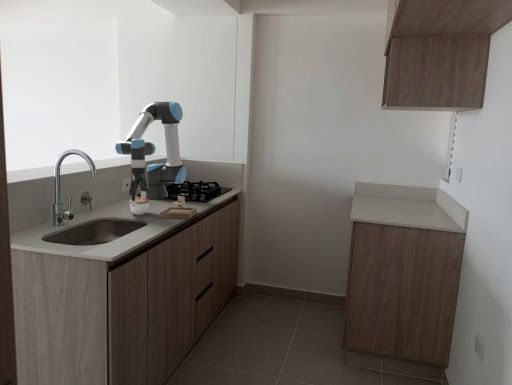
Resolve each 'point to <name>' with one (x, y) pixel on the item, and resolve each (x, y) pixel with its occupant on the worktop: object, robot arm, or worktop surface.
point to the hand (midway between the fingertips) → (139, 204)
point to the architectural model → (180, 201)
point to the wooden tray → (178, 212)
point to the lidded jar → (140, 206)
